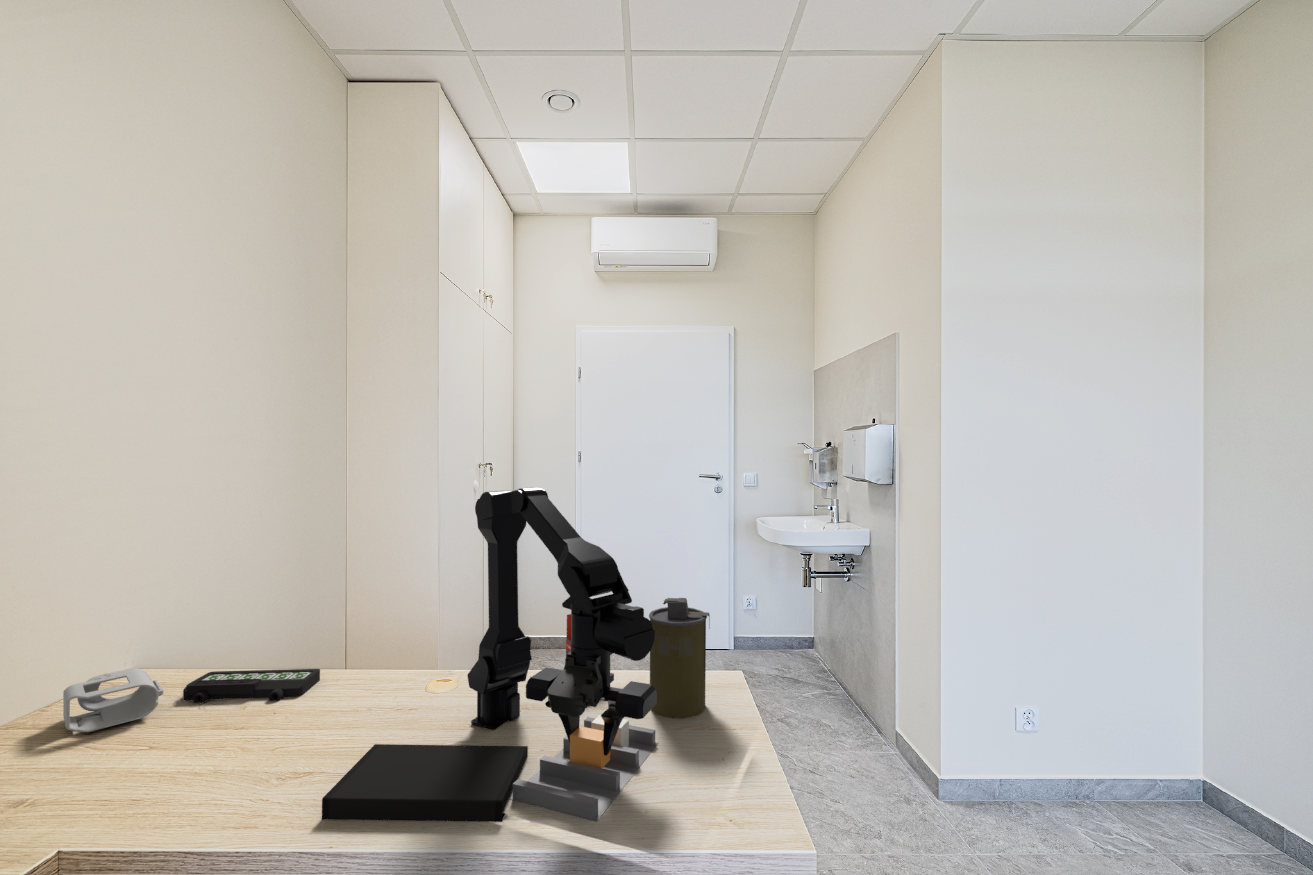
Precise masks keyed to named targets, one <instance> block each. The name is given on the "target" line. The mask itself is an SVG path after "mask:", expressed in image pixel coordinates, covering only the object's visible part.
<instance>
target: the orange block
mask: <svg viewBox="0 0 1313 875" xmlns="http://www.w3.org/2000/svg"><path fill="white" fill-rule="evenodd" d="M603 736H604V731H602V730H597V729H591V728H586V727H584V726H581V725H579V728H577V729H576V730H575V731H574V732H573V733H572V734H571V735H570V761H571V762H576V763H580V764H585V765H589V766H594V767H598V768H603V767H604V766H605V765H606V764H607V763H608V762H609V761H610V752H609V753H608V755H607V756H605V755H604V748H603Z"/></svg>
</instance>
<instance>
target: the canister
mask: <svg viewBox="0 0 1313 875" xmlns="http://www.w3.org/2000/svg"><path fill="white" fill-rule="evenodd" d="M666 604H667V606H666V607H660V608H656V609H654V610H652V611H650V612H649V614H648V617H649V618H648V619H649V620H650V622H651V623H652V626H653V629H654V630H655V638H654V643H653V646H652V648H651V650H650V652H649V684H652V685H653V687H654V688H655V690H656V692H657V704H656V705H655V706H654V707H653V708H652V709H651V710H650V711H651V712H653V713H654V714H655V715H657V716H661V717H662V718H669V719H680V720H681V719H682V720H683V719H689V718H690V719H691V718H694V717H696V716H699V715H701V714H702V713H704V711H705V710H706V671H707V670H706V667H707V665H706V660H707V657H706V655H707V654H706V653H707V650H706V649H707V648H706V646H707V644H706V640H707V639H706V638H707V633H706V632H707V618H708V628H710V618H711V617H710V612H707V611H705V612H704V611H703V610H700V609H697V608H694V607H689V605H688V604H689V603H688V600H687V598H686V597H675V598H674V597H667V598H665V599H664V600H663V602H662V605H666Z"/></svg>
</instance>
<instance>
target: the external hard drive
mask: <svg viewBox="0 0 1313 875" xmlns="http://www.w3.org/2000/svg"><path fill="white" fill-rule="evenodd" d="M528 751H529V746H528V745H475V744H474V745H473V744H472V745H469V744H467V745H465V744H464V745H462V744H459V745H458V744H454V745H453V744H398V743H397V744H391V743H389V744H387V743H386V744H385V743H383V744H381V743H379V744H378V743H375V744H373V746H371V747H370V749H368V750H367V752H366V753H365V754H363V756H362V757H360V758H359V760H358V761H357V762H356V763H355V764H354V765H352V767H351V768H350V769H349V770H348V771H347V773H345V774H344V775H343V776H342V777H341V778H340V780H339V781H337V783H336V784H335V785H334V786H332V788H331V789H330V790H329V791H328V792H327V793H326V794H325V795H324V796H323V797H322V799H321V820H323V821H324V820H329V821H331V820H333V821H334V820H336V821H338V820H340V821H394V822H395V821H397V822H398V821H399V822H400V821H401V822H402V821H403V822H407V821H408V822H410V821H411V822H460V823H462V822H467V823H471V822H473V823H475V822H476V823H478V822H479V823H502V822H503V821H504V818H505V816H506V813H505V812H504V811H505V808H506V806H507V803H508V802H509V800H510V799H509V798H510V797H511V796H512V794H513V783H514V782H515V781H516V780H518V779H519V777H520V774H521V772H522V769H523V768H524V765H525V763H526V762H527V759H528V755H529V754H528V753H529V752H528Z"/></svg>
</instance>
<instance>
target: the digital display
mask: <svg viewBox="0 0 1313 875" xmlns="http://www.w3.org/2000/svg"><path fill="white" fill-rule="evenodd" d="M320 681H321V669H320V668H293V669H292V668H289V669H255V670H223V671H222V670H221V671H219V670H218V671H215V670H214V671H209V672H207V673H205V674H203V675H201V676H200V677H198V678H196V679H194V680H193V681H191V682H188V684H187V685H186V686H185V687H184V689H182V690H183V692H182V700H183V701H192V702H193V704H195V705H196V704H204V703H206V702H208V701H213V700H238V699H239V700H241V699H243V700H244V699H266V698H267V699H268V701H269V702H273V701H276V702H278V701H281V700H282V699H283V698H299V697H302V696H303V695H305V694H306V693H307V692H308V691H309V690H310V689H312V688H313V687H314V686H315V685H317V684H318V683H319V682H320Z"/></svg>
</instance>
